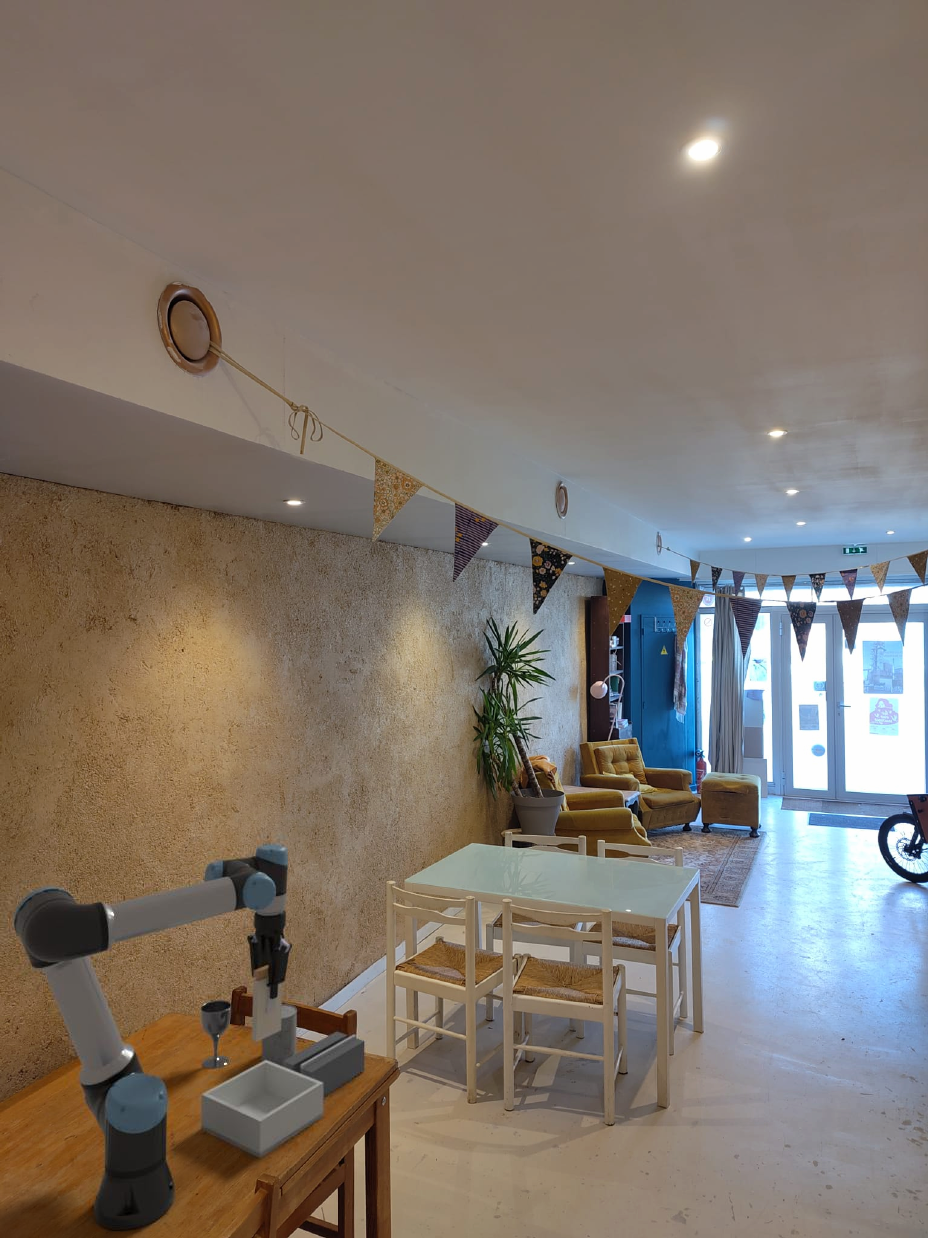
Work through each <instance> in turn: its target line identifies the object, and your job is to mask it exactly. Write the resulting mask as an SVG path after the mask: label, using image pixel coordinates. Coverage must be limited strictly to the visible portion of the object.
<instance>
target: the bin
mask: <svg viewBox="0 0 928 1238" xmlns="http://www.w3.org/2000/svg"><path fill="white" fill-rule="evenodd" d="M200 1101H201V1107H200V1108H201V1110H200V1111H201V1114H200V1115H201V1116H200V1117H201V1119H200V1121H201V1122H200V1129H201V1130H202V1131H204V1132H205V1133H208V1134H210V1135H212V1136H214V1137H216V1138H218V1139H220V1140H222V1141H224V1142H225V1143H228V1144H230V1145H231V1146H234V1147H236V1148H238V1149H240V1150H243V1151H244V1152H245V1153H248V1154H250V1155H252V1156H255V1157H257V1158H258V1159H261V1158H263V1157H265V1156H266V1155H267V1154H269V1153H270V1152H272V1151H273V1150H275V1149H276V1148H278V1147H280V1146H281V1145H282V1144H284V1143H286V1142H287V1141H288V1140H290V1139H291V1138H293V1137H294V1136H297V1134H299V1133H301V1132H302V1131H304V1130H305V1129H306V1128H308V1127H309V1126H311V1125H313V1124H314V1123H316V1122H317V1121H319V1120H320V1119H322V1118H323V1117H324V1097H323V1082H320V1081H318V1080H315V1079H313V1078H310V1077H308V1076H305V1075H303V1074H300V1073H298V1072H295V1071H293V1070H290V1069H287V1068H285V1067H283V1065H277V1064H275V1063H272V1062H270V1061H267V1060H265V1061H261V1062H259V1063H257V1064H255V1065H254V1066H252V1067H250V1068H248V1069H246V1070H245V1071H242V1072H240V1073H239V1074H237V1075H236V1076H233V1077H231V1078H229V1079H227V1080H225V1081H224V1082H222V1083H221V1084H218V1085H217V1086H215V1087H213V1088H211V1089H209V1090H207V1091H205V1092H204V1093H202V1094H201V1100H200Z"/></svg>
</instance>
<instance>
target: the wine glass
mask: <svg viewBox="0 0 928 1238" xmlns="http://www.w3.org/2000/svg"><path fill="white" fill-rule="evenodd" d="M231 1015H232V1003H231V1002H230V1001H228V1000H222V999H220V1000H219V999H218V1000H212V1001H208V1002H205V1003H204V1004H202V1005H201V1008H200V1020H201V1026H202V1029H203V1031H204V1032H205V1033H206V1035H208V1036H209V1038H211V1040H212V1043H213V1056H210V1057H207V1058H205V1059H203V1060H202V1062H201V1066H202V1067H203V1068H205V1069H209V1070H211V1069H214V1070H215V1069H218V1068H219V1069H220V1068H223V1067H224V1066H227V1065H228V1063H229V1062H230V1060H229V1057H227V1056H225V1055H218V1044H219V1040H220V1038H221V1036H222V1035H223V1034H224V1033H225V1032H226V1031H227V1030H228V1028H229V1025H230V1021H231V1017H232V1016H231Z"/></svg>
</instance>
